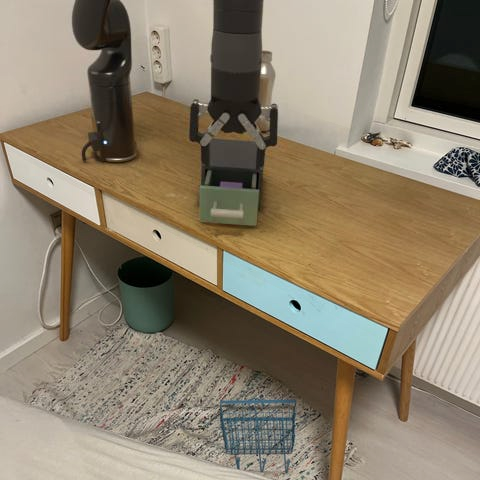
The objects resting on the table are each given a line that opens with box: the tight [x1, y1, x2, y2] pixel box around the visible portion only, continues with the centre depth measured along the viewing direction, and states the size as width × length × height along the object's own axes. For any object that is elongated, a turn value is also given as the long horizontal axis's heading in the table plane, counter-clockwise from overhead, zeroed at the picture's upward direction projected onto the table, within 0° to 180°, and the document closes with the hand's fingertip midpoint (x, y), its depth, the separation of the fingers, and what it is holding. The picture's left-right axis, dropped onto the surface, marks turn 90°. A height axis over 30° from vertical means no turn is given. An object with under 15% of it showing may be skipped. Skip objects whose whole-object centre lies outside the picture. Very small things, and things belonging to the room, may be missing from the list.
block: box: [220, 182, 243, 188], centre depth 102 cm, size 4×4×4 cm
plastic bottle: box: [255, 50, 276, 132], centre depth 137 cm, size 6×7×20 cm
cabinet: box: [200, 137, 265, 211], centre depth 110 cm, size 15×13×9 cm
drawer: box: [199, 169, 259, 227], centre depth 102 cm, size 18×11×7 cm, turn 177°
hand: (232, 167), depth 86 cm, fingers open, 8 cm apart
